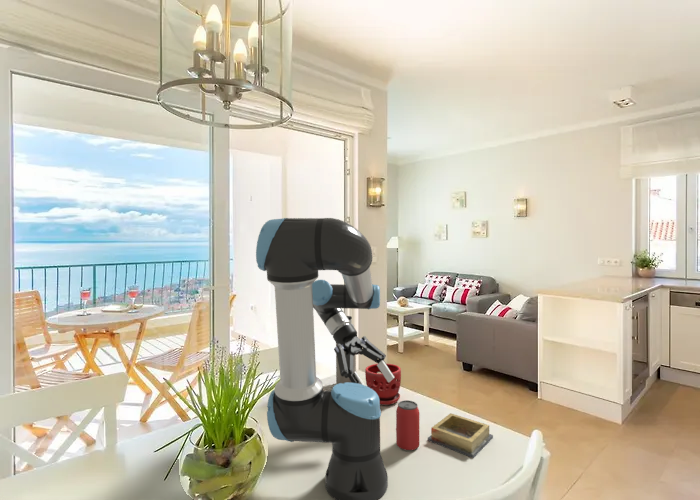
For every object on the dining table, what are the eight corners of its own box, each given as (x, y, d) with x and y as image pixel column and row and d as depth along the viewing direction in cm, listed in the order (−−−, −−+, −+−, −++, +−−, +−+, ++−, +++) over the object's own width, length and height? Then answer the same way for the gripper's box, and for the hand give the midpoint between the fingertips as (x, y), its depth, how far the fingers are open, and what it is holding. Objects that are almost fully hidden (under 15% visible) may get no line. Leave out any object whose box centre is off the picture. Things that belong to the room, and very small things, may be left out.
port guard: (473, 457, 106) (473, 444, 105) (427, 440, 115) (427, 427, 115) (492, 437, 116) (493, 425, 116) (449, 423, 125) (449, 411, 125)
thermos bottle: (332, 384, 159) (331, 316, 158) (346, 380, 164) (346, 313, 163) (345, 390, 153) (344, 319, 152) (359, 385, 158) (359, 316, 157)
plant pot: (401, 394, 149) (401, 362, 149) (400, 408, 136) (400, 374, 136) (367, 391, 151) (367, 361, 151) (363, 406, 138) (362, 372, 138)
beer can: (392, 448, 111) (392, 406, 110) (401, 437, 117) (400, 397, 116) (415, 454, 108) (415, 411, 107) (422, 442, 114) (422, 402, 113)
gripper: (359, 329, 139) (394, 381, 130) (308, 344, 120) (345, 406, 111) (371, 316, 136) (408, 368, 126) (320, 330, 117) (359, 392, 107)
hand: (378, 386), depth 119 cm, fingers open, 13 cm apart
